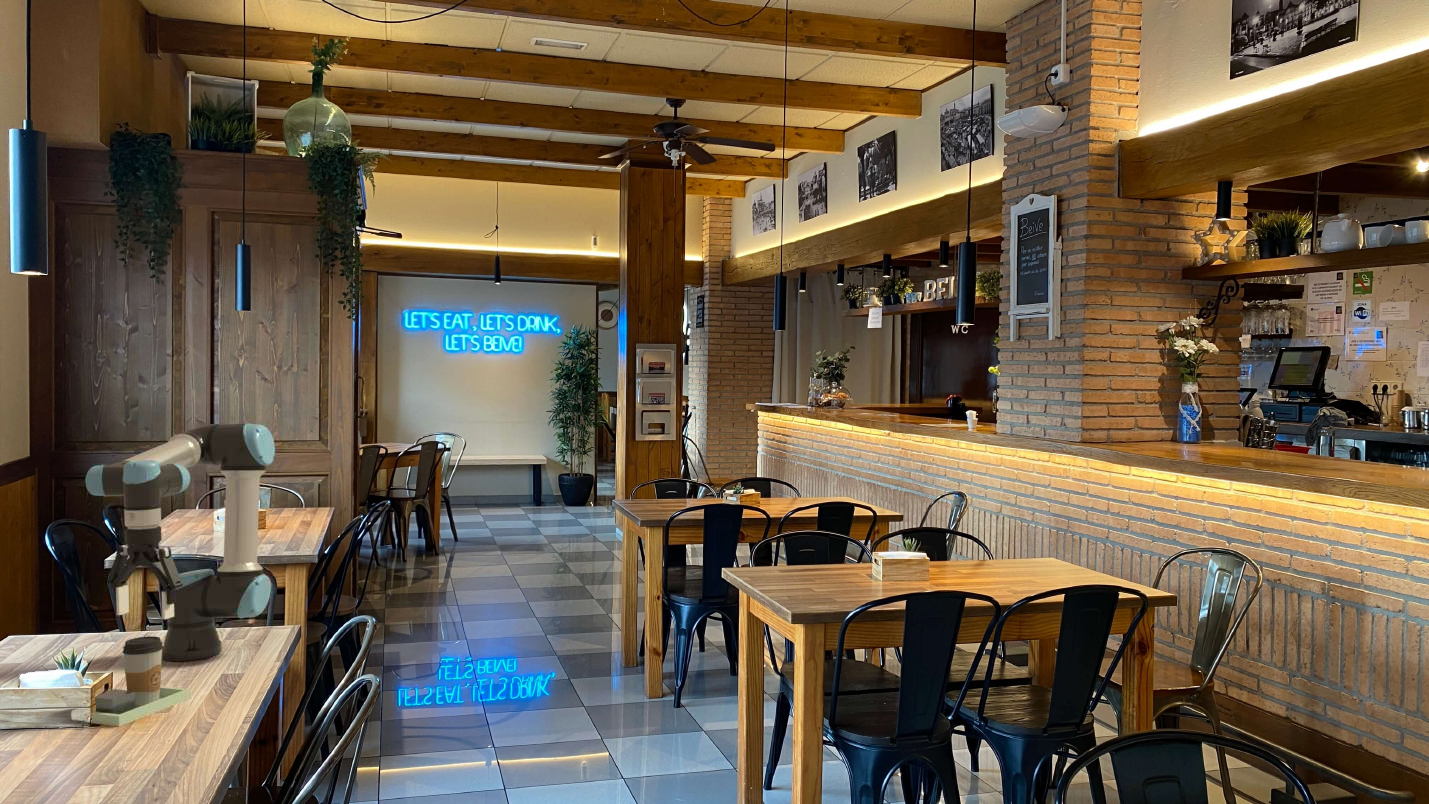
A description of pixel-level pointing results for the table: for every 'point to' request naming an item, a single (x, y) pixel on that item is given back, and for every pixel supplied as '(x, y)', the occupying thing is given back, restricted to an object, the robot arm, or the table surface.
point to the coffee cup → (143, 668)
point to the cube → (115, 701)
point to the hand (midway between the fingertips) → (145, 615)
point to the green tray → (144, 707)
